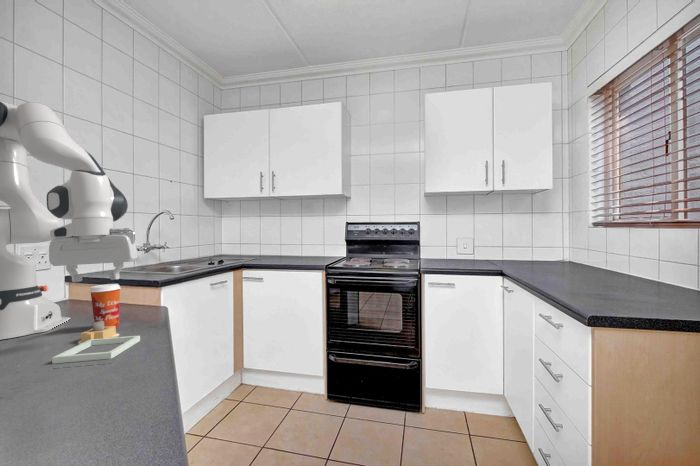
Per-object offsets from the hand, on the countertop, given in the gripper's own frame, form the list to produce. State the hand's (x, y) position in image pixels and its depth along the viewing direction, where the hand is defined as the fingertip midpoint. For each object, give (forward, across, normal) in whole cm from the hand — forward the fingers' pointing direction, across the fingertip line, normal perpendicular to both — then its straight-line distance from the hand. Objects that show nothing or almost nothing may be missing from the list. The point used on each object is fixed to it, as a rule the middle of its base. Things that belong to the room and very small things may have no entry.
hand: (96, 280), depth 86 cm
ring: (+16, 0, 0) cm, 16 cm away
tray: (+17, -7, +11) cm, 21 cm away
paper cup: (+17, +5, -12) cm, 22 cm away
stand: (+17, 0, 0) cm, 17 cm away
